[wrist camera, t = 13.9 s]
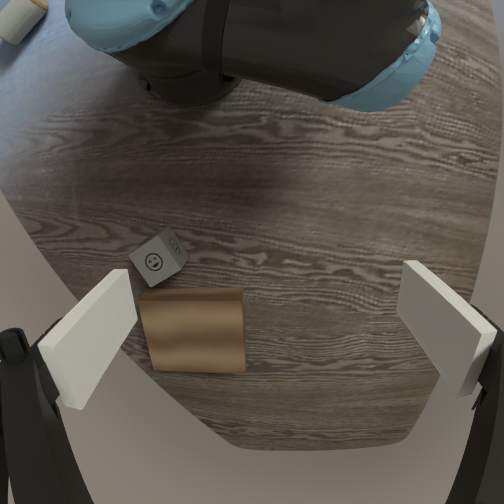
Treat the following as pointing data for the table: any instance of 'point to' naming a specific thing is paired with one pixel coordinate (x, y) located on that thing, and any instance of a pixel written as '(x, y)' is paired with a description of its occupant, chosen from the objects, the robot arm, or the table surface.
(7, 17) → the ceramic mug
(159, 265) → the dice cube
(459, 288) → the table surface
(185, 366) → the brown flat block
